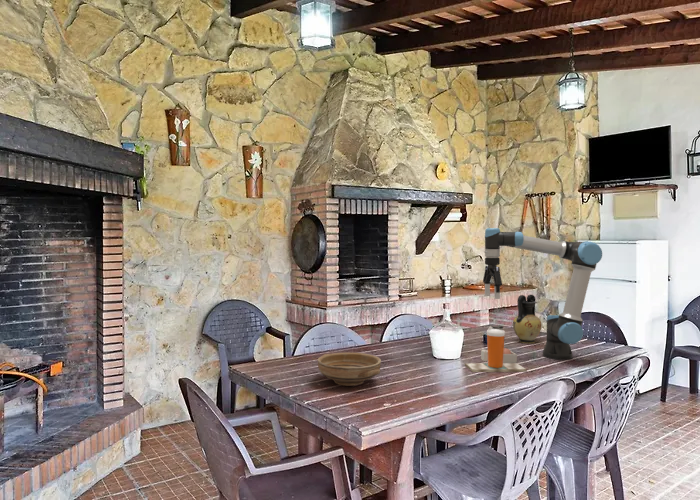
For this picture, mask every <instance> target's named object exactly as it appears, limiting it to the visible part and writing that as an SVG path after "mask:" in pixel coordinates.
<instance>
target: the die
mask: <svg viewBox="0 0 700 500" xmlns="http://www.w3.org/2000/svg"><path fill="white" fill-rule="evenodd" d="M480 360H482V361H484V362H488V349H481V351H480Z"/></svg>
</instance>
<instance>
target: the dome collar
mask: <svg viewBox="0 0 700 500" xmlns="http://www.w3.org/2000/svg"><path fill="white" fill-rule="evenodd" d="M510 351H511V354H504V355H503V363H517V364H518V354H517V353H515V352H513V351H512V350H510Z"/></svg>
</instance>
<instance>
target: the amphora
mask: <svg viewBox="0 0 700 500" xmlns="http://www.w3.org/2000/svg"><path fill="white" fill-rule="evenodd" d="M537 302H538V301H536V296H535V295H534V294H528V295H527V296H526V295H523V294H520V295H519V296H518V297H517V310H518V311H517V312H518V313H517V314H518V315H516V316H515V317H514V319H513V320H512V328H513V332H514V333H515V335H516V337H518V339H519V343H521V344H535V343H536V341H535V340H536V339H537V337H539V335H540V333H541V330H542V322H541V319H540V318H539V317H538V316H537V315H536V304H537Z"/></svg>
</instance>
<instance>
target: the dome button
mask: <svg viewBox="0 0 700 500" xmlns="http://www.w3.org/2000/svg"><path fill="white" fill-rule="evenodd" d="M511 351H512V350H510V349H509V348H508V347H507V348H506V347H504V354H511Z"/></svg>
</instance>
